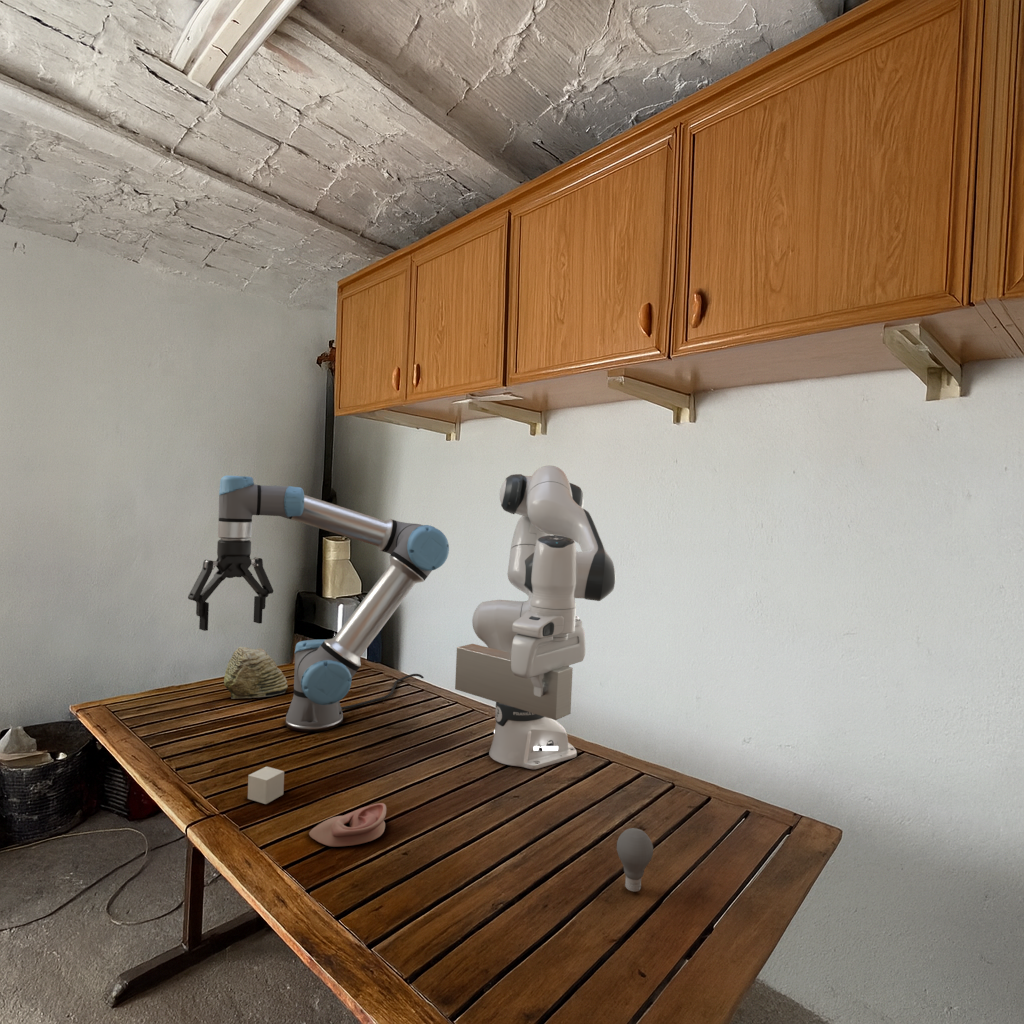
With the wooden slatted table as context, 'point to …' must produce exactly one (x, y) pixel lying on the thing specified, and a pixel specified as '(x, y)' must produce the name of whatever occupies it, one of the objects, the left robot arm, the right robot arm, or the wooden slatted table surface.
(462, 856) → the wooden slatted table surface
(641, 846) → the light bulb
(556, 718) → the beam
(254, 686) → the fossil
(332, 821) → the anatomical model
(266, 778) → the plastic block
